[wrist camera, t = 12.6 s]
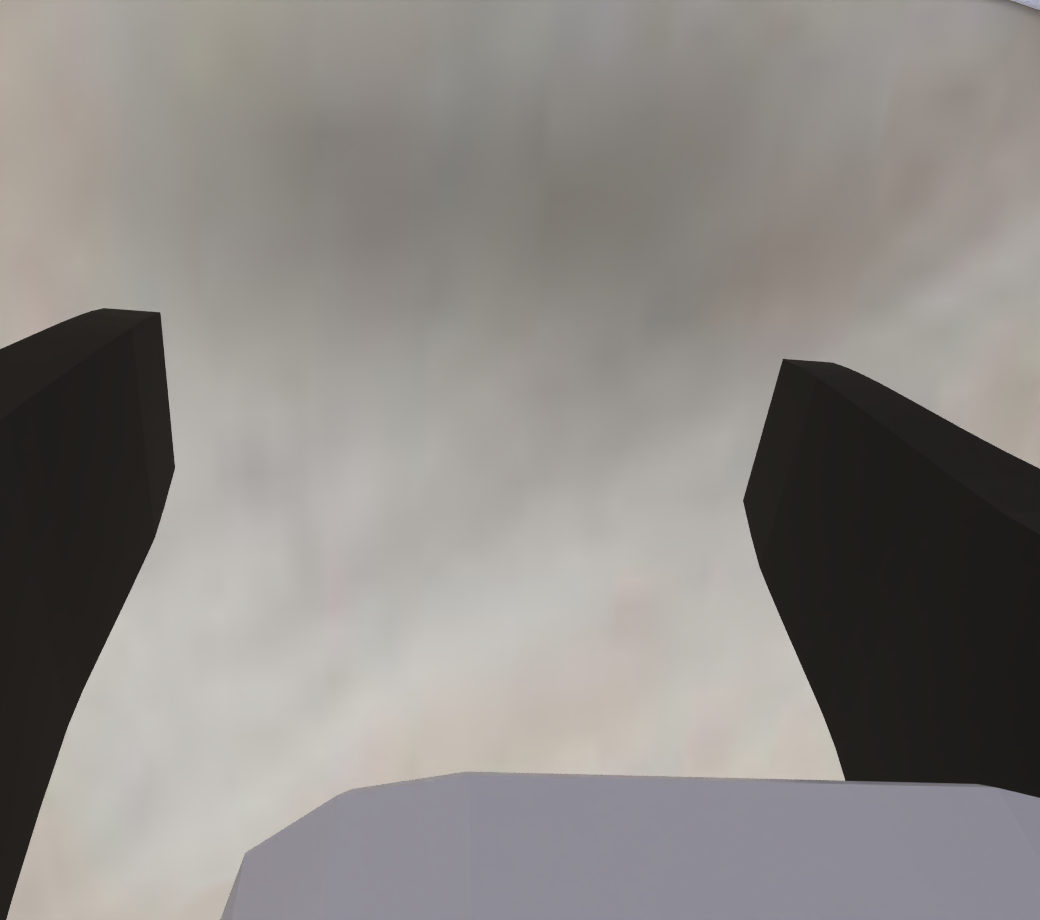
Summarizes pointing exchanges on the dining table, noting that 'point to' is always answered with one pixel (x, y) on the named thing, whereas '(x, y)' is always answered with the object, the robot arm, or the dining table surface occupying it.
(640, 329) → the dining table surface
